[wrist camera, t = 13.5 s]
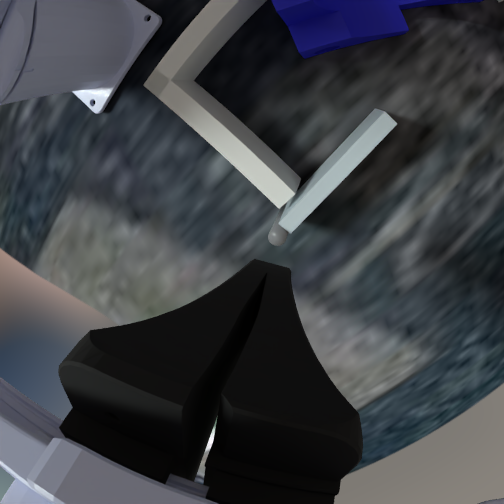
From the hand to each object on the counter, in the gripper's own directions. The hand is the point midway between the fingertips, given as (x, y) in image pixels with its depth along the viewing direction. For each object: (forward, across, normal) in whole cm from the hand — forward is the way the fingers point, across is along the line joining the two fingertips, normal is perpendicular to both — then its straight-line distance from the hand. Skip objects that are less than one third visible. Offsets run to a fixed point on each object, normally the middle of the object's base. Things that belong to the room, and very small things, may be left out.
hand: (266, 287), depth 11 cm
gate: (+9, -1, -3) cm, 10 cm away
